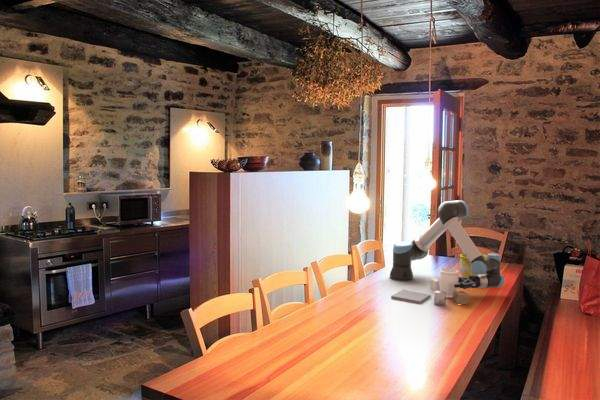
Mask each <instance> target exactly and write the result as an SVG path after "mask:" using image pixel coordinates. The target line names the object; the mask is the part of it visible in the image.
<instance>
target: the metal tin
mask: <svg viewBox="0 0 600 400" xmlns="http://www.w3.org/2000/svg"><path fill="white" fill-rule="evenodd" d="M433 292H434V293H433V294H434V295H433V296H434V297H433V298H434V299H433V304H434V305H435V306H438V307H445V306H446V300H447V298H446V292H445V291H441V290H436V291H433Z"/></svg>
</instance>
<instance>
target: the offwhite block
mask: <svg viewBox="0 0 600 400" xmlns="http://www.w3.org/2000/svg"><path fill="white" fill-rule="evenodd" d="M429 288H430V289H431V290H432V291H433V292H435V291H436V290H440V284H439V282H438V278H430V287H429Z"/></svg>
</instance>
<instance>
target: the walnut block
mask: <svg viewBox="0 0 600 400" xmlns="http://www.w3.org/2000/svg"><path fill="white" fill-rule="evenodd" d="M469 296H470V295H469V293H467V292H465V291H464V290H461V291H460V290H459V291H455V292H453V298H452V303H453V302H454V303H453V304H455V303H456V304H468V305H469ZM456 304H455V305H456Z"/></svg>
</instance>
